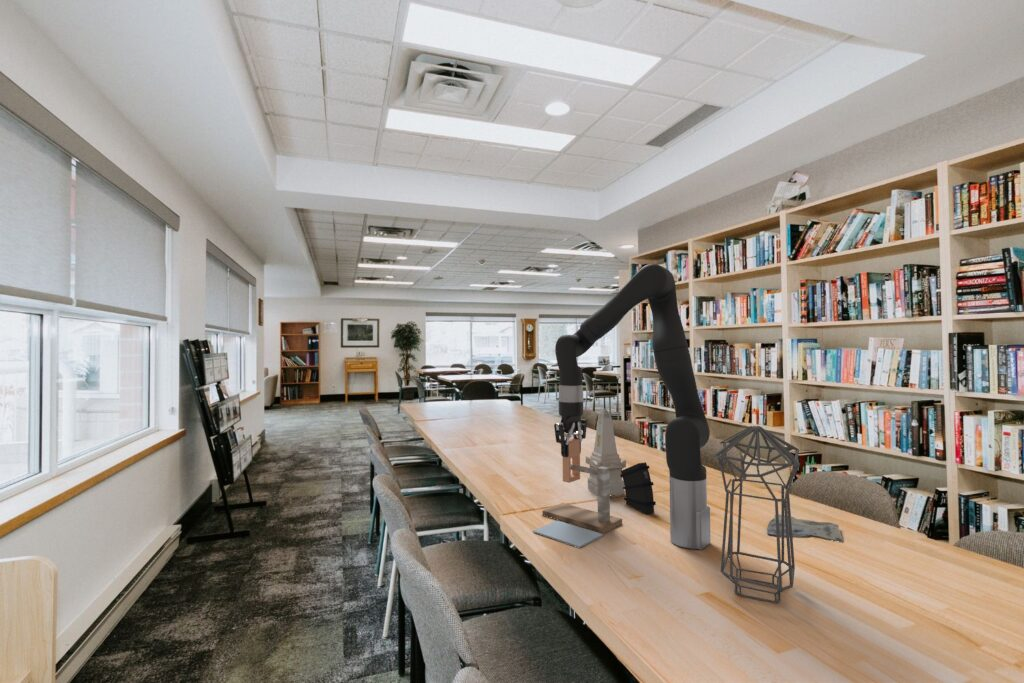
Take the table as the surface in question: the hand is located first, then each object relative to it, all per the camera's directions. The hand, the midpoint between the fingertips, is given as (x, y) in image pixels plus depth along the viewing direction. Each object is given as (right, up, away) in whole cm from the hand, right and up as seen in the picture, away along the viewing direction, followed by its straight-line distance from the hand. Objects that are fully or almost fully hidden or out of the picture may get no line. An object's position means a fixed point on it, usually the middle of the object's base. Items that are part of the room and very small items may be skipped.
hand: (571, 454), depth 149 cm
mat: (-3, -19, -14) cm, 24 cm away
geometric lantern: (+33, -18, -47) cm, 61 cm away
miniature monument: (+15, -19, +25) cm, 35 cm away
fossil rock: (+63, -19, -13) cm, 67 cm away
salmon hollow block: (0, -8, 0) cm, 8 cm away
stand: (+3, -19, -3) cm, 19 cm away
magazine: (+22, -19, +8) cm, 30 cm away
